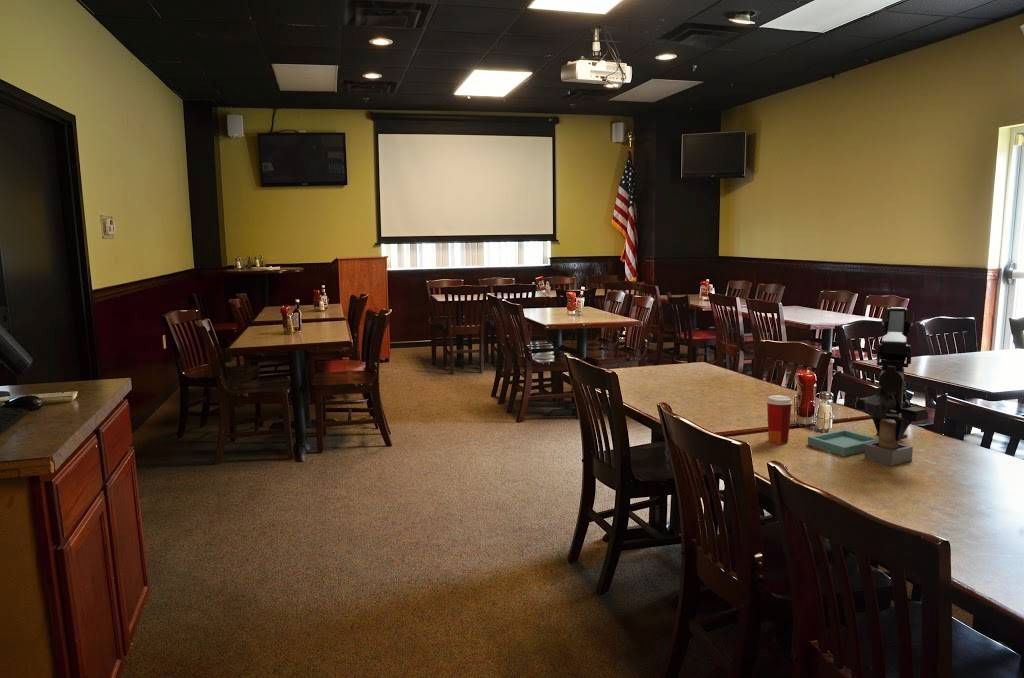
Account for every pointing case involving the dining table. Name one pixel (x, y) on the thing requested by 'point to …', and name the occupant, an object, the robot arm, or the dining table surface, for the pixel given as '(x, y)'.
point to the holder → (888, 453)
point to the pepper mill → (888, 434)
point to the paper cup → (778, 418)
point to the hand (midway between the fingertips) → (888, 438)
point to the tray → (841, 442)
